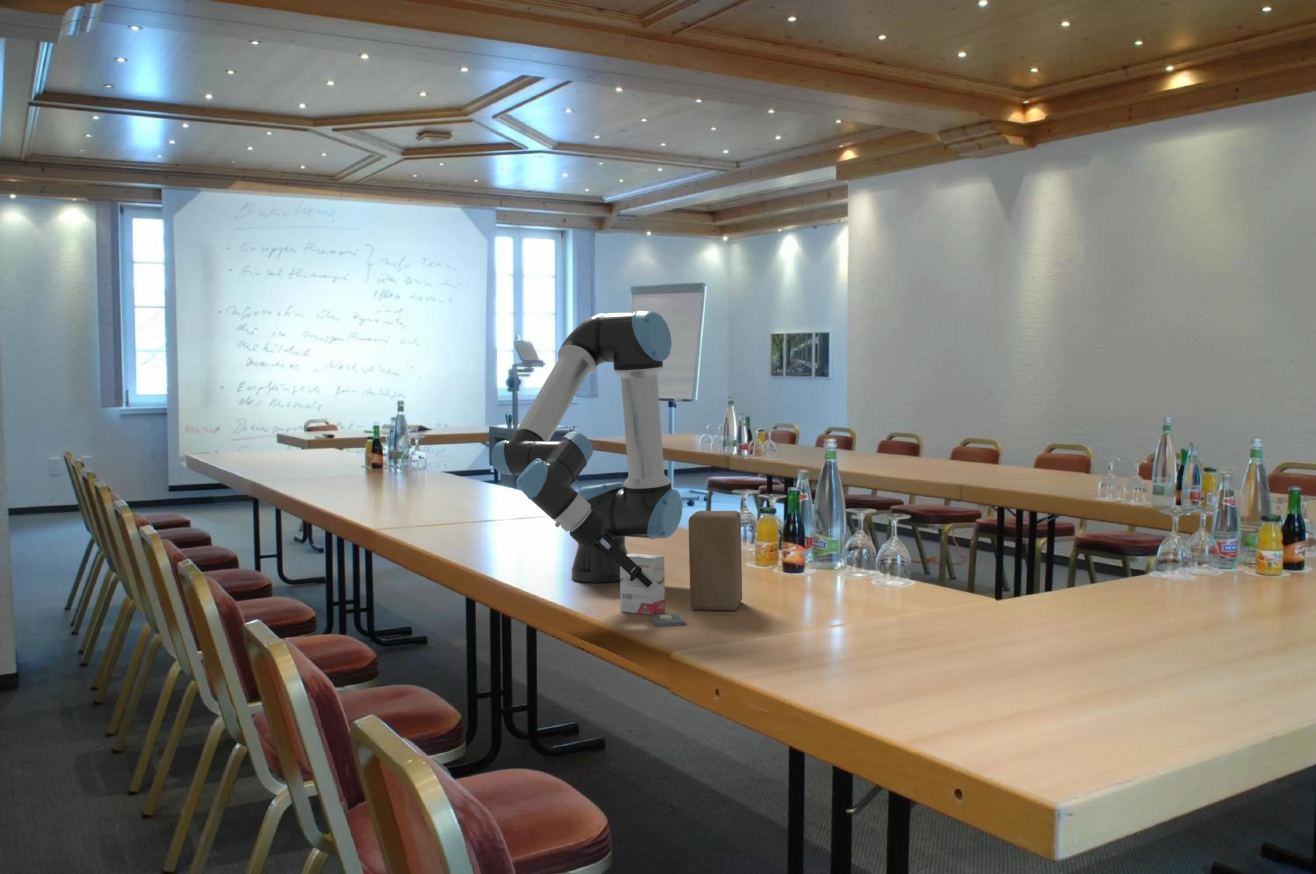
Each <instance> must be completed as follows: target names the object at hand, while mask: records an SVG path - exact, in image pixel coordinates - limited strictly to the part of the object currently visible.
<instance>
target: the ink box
mask: <svg viewBox="0 0 1316 874" xmlns="http://www.w3.org/2000/svg"><path fill="white" fill-rule="evenodd" d="M626 555H627V556H628V557H629V558H630V559H631V560H632V561H633V562H634V563H635V564H636V565H638V566H640V567H641V568H642V569H643V570H644V571H645V572H646V573H647V574H648V575H649V576H650V577H652V578H653V579H654V580H655V581H656V582H657V583H658V584H659V585H660V586H661V587H662V588H663V589H665V591H664V592H663V594H662V595H661V596H660V597H659V598H658V599H657V600H656V599H655V598H654V597H653V596H651V595H650V594H649V593H648V592H647V591H646V590H645V589H644V588H643V587H642V586H641V585H639V584H638V583H637V582H636V581H635V580H633V581H631V580H630V578H631V576H630V575H629V574H628V573H627V572H626V571H625V570H624V569H623V568H622V567H621V566H620V581H619V584H620V585H619V586H620V587H619V588H620V590H619V591H620V592H619V594H620V595H619V597H620V612H622V613H630V614H641V615H648V616H656V615H658V614H660V613H662V612H665V610H666V609H665V608H666V605H665V604H666V602H665V601H666V599H665V598H666V597H665V596H666V588H665V585H666V584H665V583H666V582H665V556H664V555H655V554H654V555H652V554H642V553H641V554H639V553H628V554H626ZM635 568H636V567H635ZM635 568H634V569H635ZM634 569H633V570H634ZM633 570H632V571H633ZM632 571H631V572H632Z"/></svg>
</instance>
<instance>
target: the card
mask: <svg viewBox="0 0 1316 874" xmlns="http://www.w3.org/2000/svg"><path fill="white" fill-rule="evenodd" d="M648 617H649V620H650V621H651V623H652V624H653V625H654V627H657V628H659V627H672V626H673V627H675V626H684V625H685V626H686V623H687V622H686V620H684V618H682V616H681V615H680V614H678V613H675V614H673V613H672V614H659V615H658V614H656V615H648Z"/></svg>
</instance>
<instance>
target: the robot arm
mask: <svg viewBox="0 0 1316 874" xmlns="http://www.w3.org/2000/svg"><path fill="white" fill-rule="evenodd" d="M668 325H669V324H667V321H666V320H665V319H664V317H662V315H661V314H659V313H658V312H656V311H651V310H635V311H634V310H633V311H621V312H620V311H619V312H601V313H597V314H595V315H593V316H591V317H589V318H587V319H584V321H583V322H581V323H580V324H578V325H577V326H576V327H575V329H573V330H572V331H571V332H570V333H569V334H568V336H567V337H566V339H565V340H564V341H563V343H562V344H561V346H560V348H559V349H558V351H557V358H558V360H557V361H556V363H555V364H554V367H552V370H551V371H550V373H549V375H548V377H547V379H545V382H544V383H543V384H542V387H541V388H540V390H539V392H538V393H537V395H536V396H535V398H534V400H533V402H532V403H531V406H530V407H529V409H528V411H527V412H526V414H525V416H524V417H523V419H522V420H521V422H520V423H519V426H518V428H517V429H516V431H515V433H514V434H513V436H512V438H511V439H510V440H509V439H505V440H501V441H498V442H497V443H496V444H495V445H494V447H493V448H492V452H491V453H492V454H491V461H492V466H493V467H494V469H495V470H496V472H498V473H499V474H501V475H508V476H514V477H516V476H518V477H517V479H516V481H515V482H516V483H515V484H516V486H517V487H518V488H519V490H520V491H521V492H522V493H523V494H524V495H525V496H526V497H527V499H528V500H530V501H531V502H533V504H535V505H536V506H537V507H538V509H541V510H542V512H544V513H545V514H546V515H547V516H548V517H550V518H551V519H552V520H553V522H555V523H554V526H555V527H556V528H559V527H561V528H562V530H564V531H565V532H569V536H570V537H571V538H572V539H573V540H574V541H576V543H577V550H576V553H575V557H574V560H573V564H572V567H571V579H572V580H573V581H575V582H581V583H582V582H583V583H597V584H599V583H613V582H620V566H621V567H622V568H623V569H624V570H625V571H626V572H627V573H628V574H629V575H630V576H631V578H630V580H631V581H633V580H635V581H636V582H637V583H638V584H639V585H641V586H642V587H643V588H644V589H645V590H646V591H647V592H648V593H649V594H650V595H651V596H653V597H654V598H655V599H656V600H657V599H658V598H659V597H660V596H661V595H662V594H663V592H664V591H665V592H666V588H665V589H663V588H662V587H661V586H660V585H659V584H658V583H657V582H656V581H655V580H654V579H653V578H652V577H650V576H649V575H648V574H647V573H646V572H645V571H644V570H643V569H642V568H641V567H640V566H638V565H636V564H635V563H634V562H633V561H632V560H631V559H630V558H629V557H628V556H627V555H626V554H629V553H628V551H627V550H628V549H627V548H626V537H627V538H640V539H649V540H655V539H667V538H669V537H671V536H672V535H674V533H675V532H676V531H677V529H678V527H679V525H680V523H681V520H682V514H683V507H684V505H683V499H682V496H681V494H680V492H679V491H678V490H676V489H672V488H673V487H672V481H671V479H670V478H669V477H668V476H667V475H665V465H664V464H665V462H664V453H663V452H664V451H663V438H662V435H663V434H662V424H661V423H662V421H661V410H660V408H661V407H660V396H659V395H660V394H659V381H658V380H659V379H658V374H659V373H660V372H661V370H663V368H664V362H663V361H665V360H667V359H668V358H669V356H670V355H671V350H672V336H671V330H670V328H669V326H668ZM603 363H613V371H614V372H615V373H616V374H617V375H618V376H619V377H620V381H621V393H622V395H621V396H622V407H623V409H622V410H623V423H624V434H625V437H624V438H625V447H626V448H625V449H626V462H627V473H628V474H627V476H628V477H627V478H626V479H625V480H624V482H622V481H621V482H620V481H617V482H610V483H602V484H595V485H587V486H583V487H580V488H579V489H578V490H575V489H574V488H573V486H572V485H573V483H574V482H575V480H576V479H577V478H578V476H579V475H580V474H581V472H583V470H584V468H586V467H587V465H588V463H589V461H590V459H591V457H592V456H593V452H594V448H593V445H592V442H591V441H590V440H589V438H588V437H587V436H585V435H584V434H583V433H580V432H578V431H570V432H567V433H566V434H564V436H562V437H561V438H560V440H557V441H556V440H555V441H554V440H553V441H552V440H551V438H552V437H553V435H554V433H555V432H556V430H557V428H558V426H559V424H560V423H561V422H562V420H563V418H564V415H565V414H566V413H567V410H568V409H569V407H570V406H571V404H572V402H573V400H574V398H575V397H576V395H577V394H578V391H579V390H580V388H581V386H582V384H583V383H584V381H585V379H586V377H587V376H590V375H592V374H593V373H594V372H595V369H596V368H597V366H599V365H602V364H603ZM550 440H551V441H550ZM635 567H636V568H635ZM634 568H635V569H634ZM633 569H634V570H633ZM632 570H633V571H632ZM631 571H632V572H631Z"/></svg>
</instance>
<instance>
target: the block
mask: <svg viewBox="0 0 1316 874" xmlns="http://www.w3.org/2000/svg"><path fill="white" fill-rule="evenodd" d="M741 517H742V515H741V513H740V512H739V511H737V510H698V511H696V512H694V513H693V514H691V516H689V517H688V558H689V559H688V561H689V600H690V602H689V603H690V607H691V609H692V610H694V611H717V612H718V611H719V612H722V611H723V612H726V611H727V612H733V611H735V610H737V609H738V608H739V606H740V604H741V602H742V600H743V575H742V574H743V571H742V570H743V569H742V566H743V565H742V564H743V563H742V522H741V521H742V518H741Z"/></svg>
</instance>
